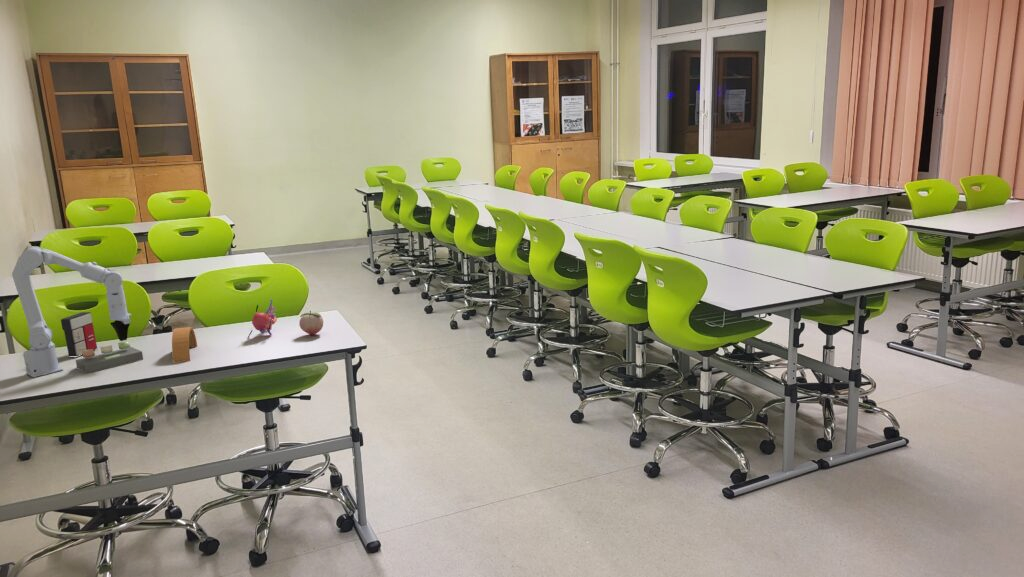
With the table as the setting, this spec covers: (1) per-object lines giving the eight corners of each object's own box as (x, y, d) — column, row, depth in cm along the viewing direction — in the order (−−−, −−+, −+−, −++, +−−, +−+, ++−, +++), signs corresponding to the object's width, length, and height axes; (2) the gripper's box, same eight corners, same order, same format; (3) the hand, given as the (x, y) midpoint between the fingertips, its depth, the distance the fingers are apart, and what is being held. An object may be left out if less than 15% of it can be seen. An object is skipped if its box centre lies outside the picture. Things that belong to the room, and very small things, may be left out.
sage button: (121, 349, 268) (120, 344, 267) (117, 348, 270) (116, 342, 270) (131, 347, 270) (130, 342, 270) (127, 345, 273) (126, 340, 272)
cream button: (103, 353, 264) (102, 348, 263) (99, 352, 266) (99, 346, 266) (114, 351, 266) (113, 346, 266) (110, 349, 269) (109, 344, 268)
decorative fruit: (328, 331, 294) (325, 307, 292) (320, 337, 286) (318, 312, 284) (305, 332, 295) (303, 308, 293) (297, 338, 287) (294, 313, 285)
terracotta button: (85, 358, 259) (84, 352, 259) (81, 356, 262) (80, 351, 261) (96, 355, 262) (95, 350, 261) (92, 353, 264) (91, 348, 264)
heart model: (244, 344, 286) (254, 322, 304) (269, 348, 288) (278, 326, 306) (249, 305, 280) (259, 285, 298) (275, 309, 282) (283, 289, 300)
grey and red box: (77, 358, 275) (70, 319, 272) (67, 357, 276) (60, 319, 273) (98, 349, 286) (92, 311, 283) (89, 349, 287) (82, 311, 284)
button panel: (86, 373, 256) (84, 364, 255) (77, 368, 263) (75, 359, 262) (143, 359, 269) (141, 350, 269) (132, 354, 276) (131, 346, 275)
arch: (172, 363, 263) (168, 336, 261) (181, 348, 282) (177, 323, 280) (190, 361, 265) (186, 334, 262) (197, 346, 283) (194, 321, 281)
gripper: (136, 304, 265) (142, 340, 268) (121, 299, 274) (127, 334, 277) (115, 308, 260) (121, 345, 263) (101, 303, 270) (107, 339, 272)
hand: (123, 340), depth 270 cm, fingers closed
